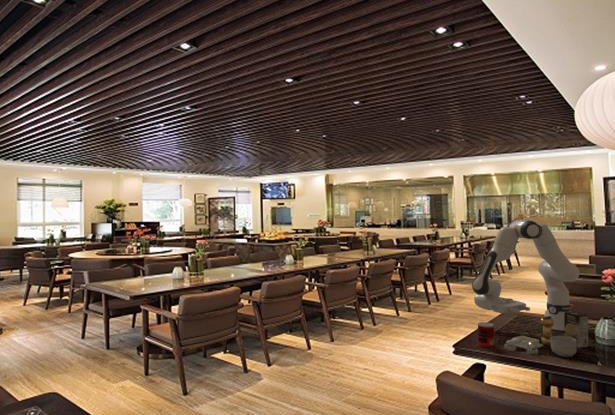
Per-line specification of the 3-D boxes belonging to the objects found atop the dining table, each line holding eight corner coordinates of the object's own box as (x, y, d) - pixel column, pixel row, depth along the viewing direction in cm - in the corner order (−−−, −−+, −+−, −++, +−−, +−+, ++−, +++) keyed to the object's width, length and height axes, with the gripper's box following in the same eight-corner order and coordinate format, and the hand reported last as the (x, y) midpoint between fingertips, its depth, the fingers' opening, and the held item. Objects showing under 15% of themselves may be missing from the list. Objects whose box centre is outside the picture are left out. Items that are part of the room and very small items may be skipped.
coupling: (545, 341, 223) (544, 314, 223) (555, 344, 219) (555, 317, 219) (538, 343, 220) (538, 316, 221) (549, 346, 216) (549, 318, 216)
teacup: (566, 360, 196) (566, 342, 196) (545, 353, 206) (545, 336, 206) (586, 356, 202) (586, 339, 202) (564, 349, 211) (564, 333, 212)
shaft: (523, 348, 213) (523, 339, 213) (533, 348, 212) (533, 339, 212) (528, 353, 205) (528, 344, 205) (538, 354, 204) (538, 345, 204)
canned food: (493, 344, 220) (493, 322, 220) (494, 348, 213) (494, 326, 213) (477, 342, 223) (477, 321, 223) (478, 347, 215) (478, 325, 215)
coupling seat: (521, 340, 226) (521, 331, 226) (543, 346, 216) (543, 337, 216) (497, 346, 216) (497, 337, 216) (519, 353, 206) (519, 344, 206)
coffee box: (563, 342, 222) (563, 311, 222) (573, 341, 224) (572, 310, 224) (579, 347, 213) (579, 315, 214) (589, 346, 215) (588, 314, 215)
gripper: (489, 301, 237) (512, 306, 225) (512, 298, 247) (535, 302, 235) (489, 312, 236) (512, 318, 225) (511, 309, 247) (535, 314, 235)
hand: (524, 310), depth 230 cm, fingers open, 8 cm apart
